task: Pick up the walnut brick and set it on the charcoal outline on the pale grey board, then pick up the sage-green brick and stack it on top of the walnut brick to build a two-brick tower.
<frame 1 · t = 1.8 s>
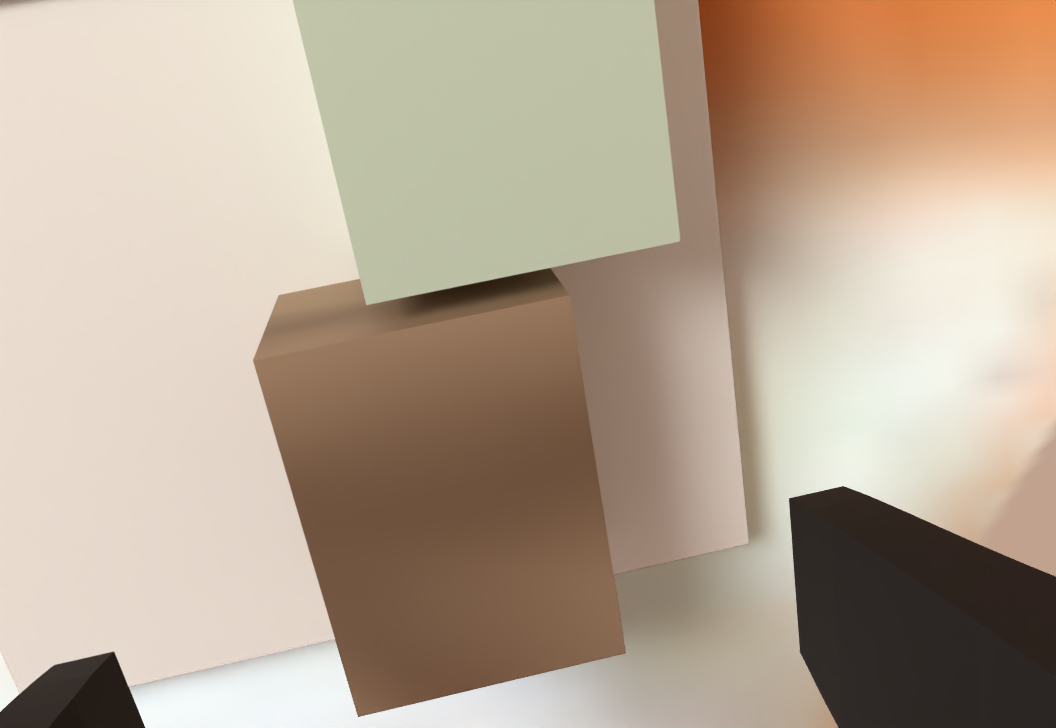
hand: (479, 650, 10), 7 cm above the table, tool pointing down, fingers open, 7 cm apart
walnut brick: (443, 430, 15), point 1 cm above the table, touching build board
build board: (271, 104, 14), on the table
sage brick: (463, 35, 13), point 1 cm above the table, touching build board
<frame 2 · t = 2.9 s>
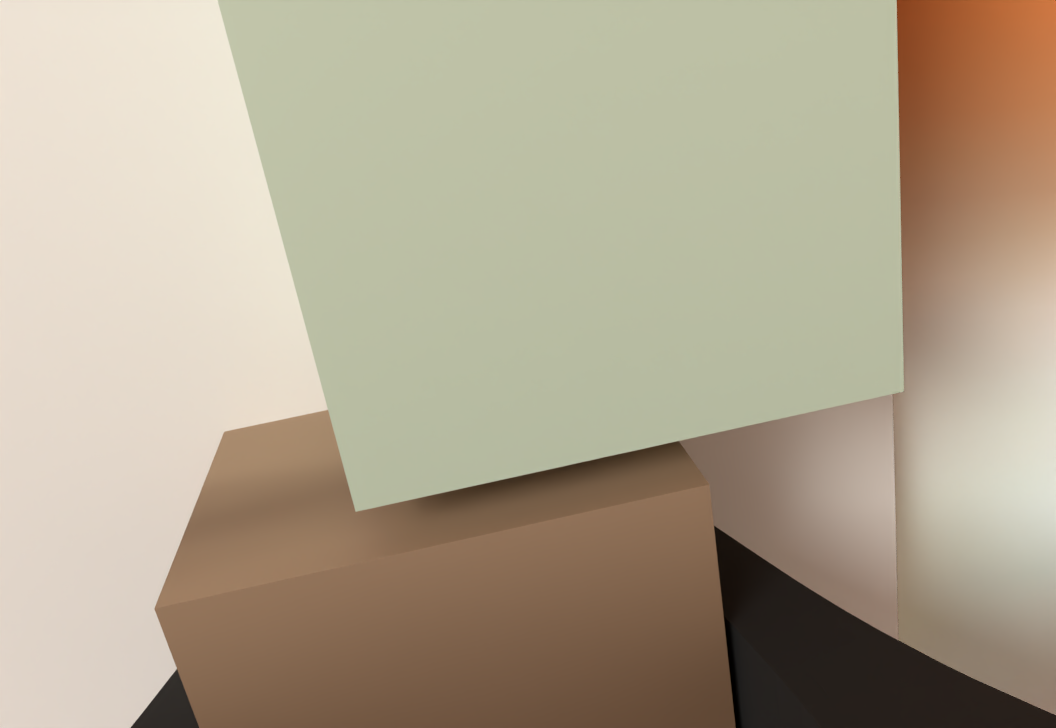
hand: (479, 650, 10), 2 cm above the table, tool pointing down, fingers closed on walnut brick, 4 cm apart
walnut brick: (473, 616, 10), point 1 cm above the table, touching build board, gripper
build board: (213, 137, 9), on the table
sage brick: (513, 31, 8), point 1 cm above the table, touching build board
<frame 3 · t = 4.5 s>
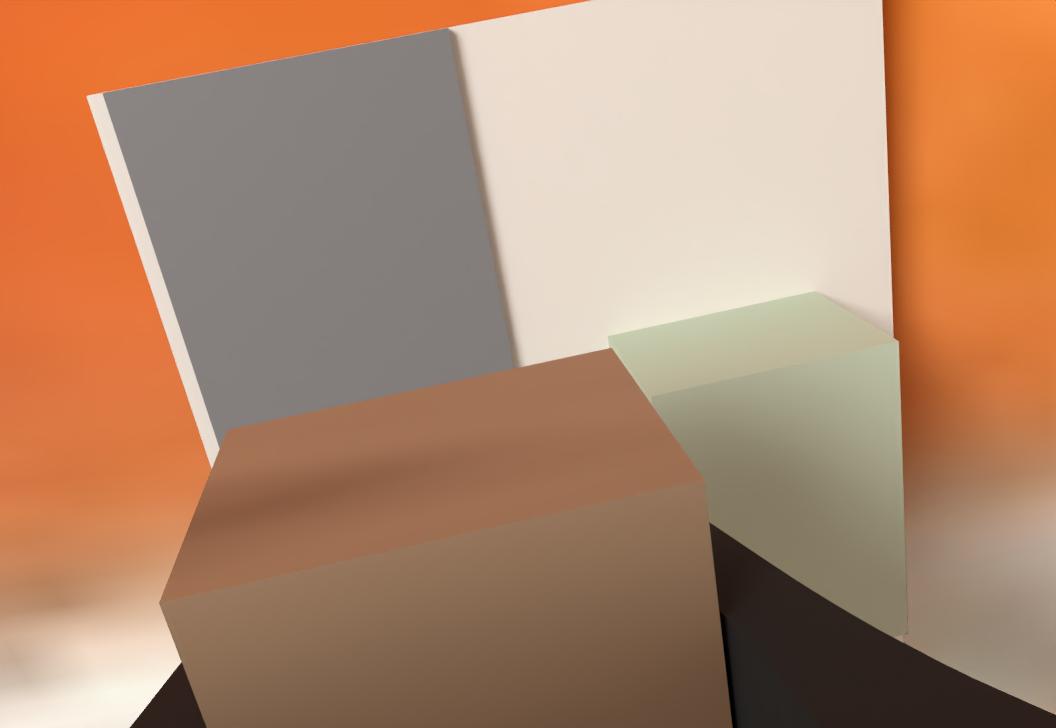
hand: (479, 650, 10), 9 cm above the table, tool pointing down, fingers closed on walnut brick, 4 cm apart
walnut brick: (474, 612, 10), point 8 cm above the table, touching gripper
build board: (572, 480, 19), on the table
sage brick: (726, 447, 18), point 1 cm above the table, touching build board
when the fingers open (3 cm above the table, at t = 6.2 s): walnut brick stays where it is, resting on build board.
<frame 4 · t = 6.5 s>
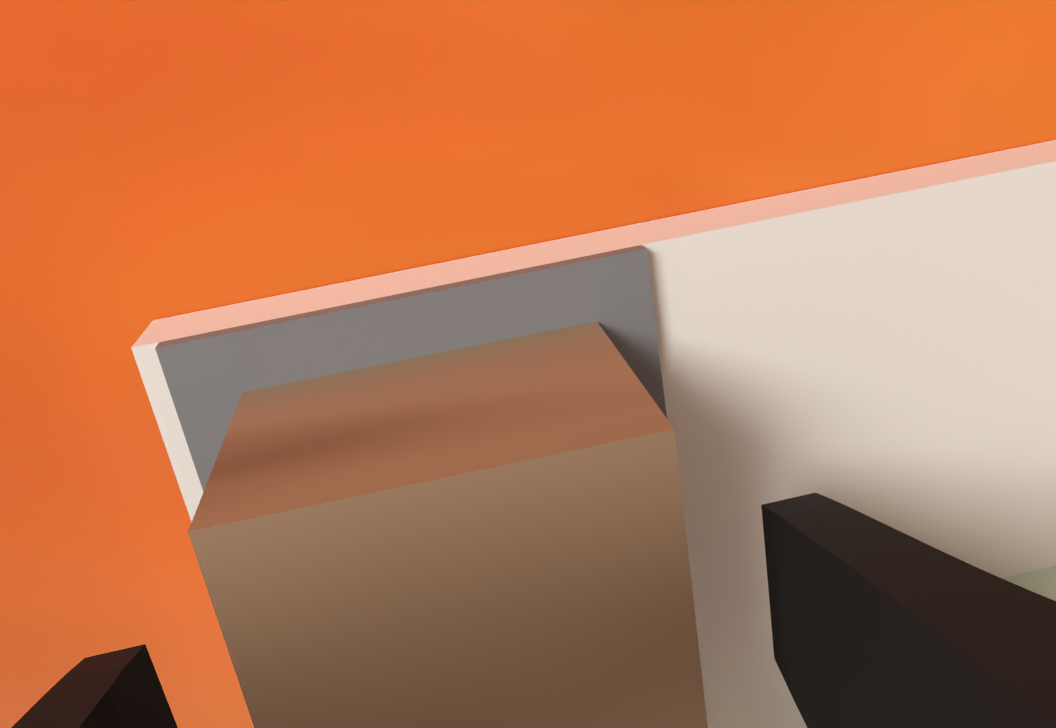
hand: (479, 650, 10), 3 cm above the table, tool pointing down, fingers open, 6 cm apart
walnut brick: (467, 567, 11), point 1 cm above the table, touching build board
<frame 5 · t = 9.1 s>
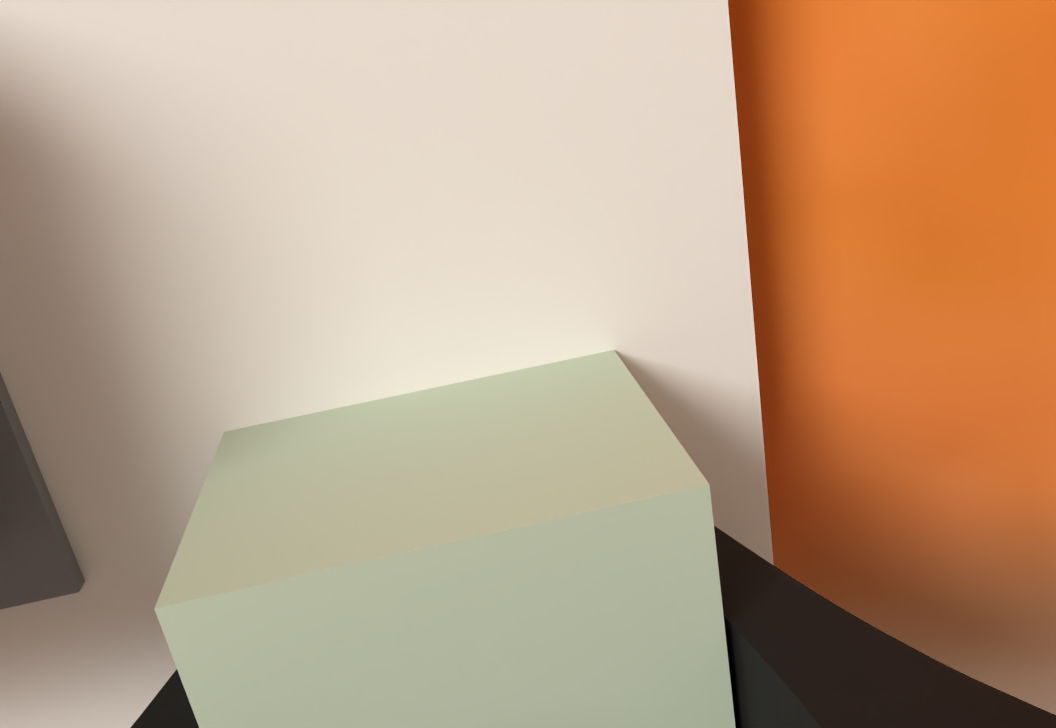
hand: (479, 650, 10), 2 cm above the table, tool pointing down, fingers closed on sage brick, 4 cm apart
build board: (232, 657, 11), on the table
sage brick: (473, 616, 10), point 1 cm above the table, touching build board, gripper
when the fingers open (6 cm above the table, at t = 11.7 s): sage brick stays where it is, resting on walnut brick.
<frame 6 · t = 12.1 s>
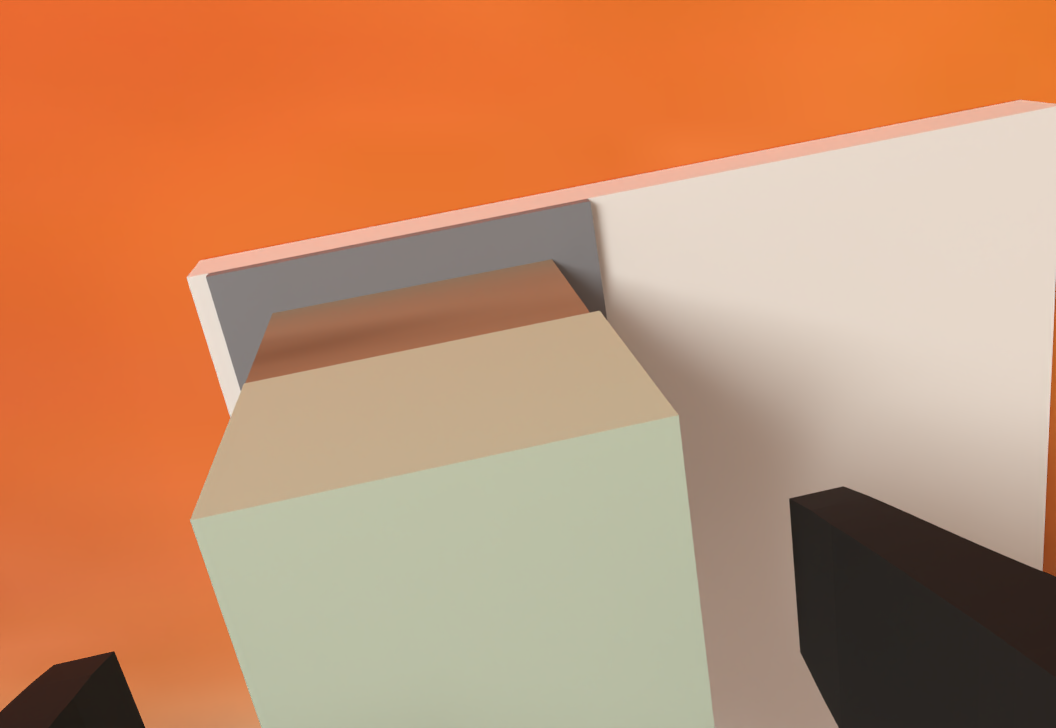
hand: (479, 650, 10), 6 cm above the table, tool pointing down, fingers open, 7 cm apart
walnut brick: (450, 460, 14), point 1 cm above the table, touching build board, sage brick
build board: (684, 649, 17), on the table
sage brick: (471, 559, 11), point 4 cm above the table, touching walnut brick
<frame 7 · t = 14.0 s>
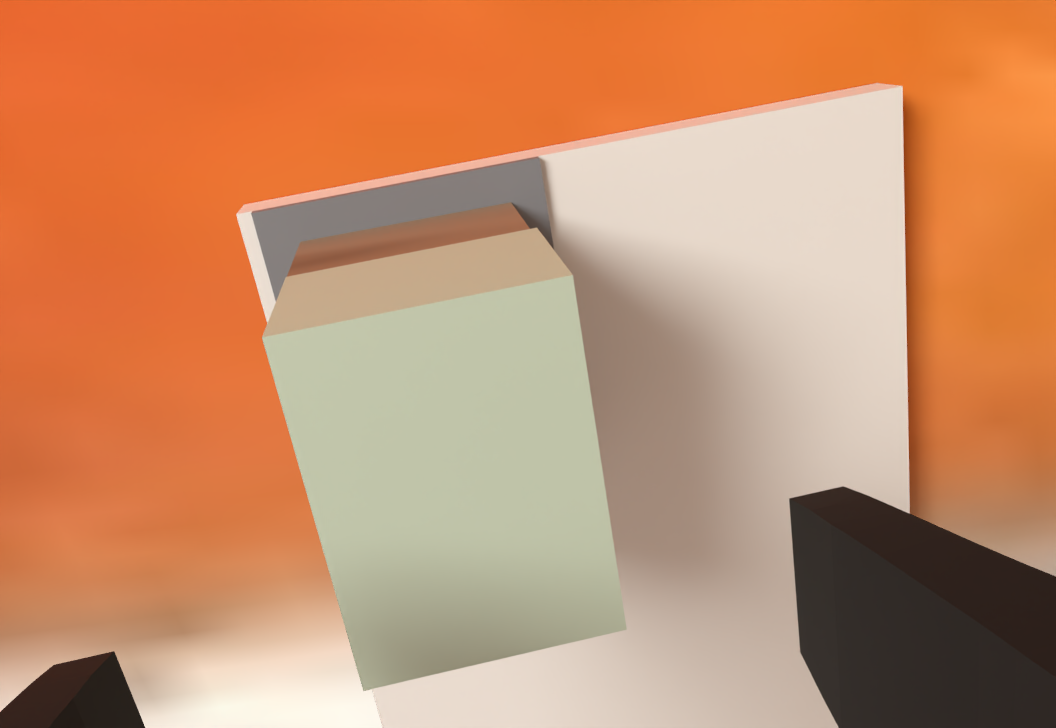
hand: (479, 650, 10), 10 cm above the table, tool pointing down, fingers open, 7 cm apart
walnut brick: (435, 359, 18), point 1 cm above the table, touching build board, sage brick
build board: (625, 526, 22), on the table
sage brick: (447, 412, 16), point 4 cm above the table, touching walnut brick
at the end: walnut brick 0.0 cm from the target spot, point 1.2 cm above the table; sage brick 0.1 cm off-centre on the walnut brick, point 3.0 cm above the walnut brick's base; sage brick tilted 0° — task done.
